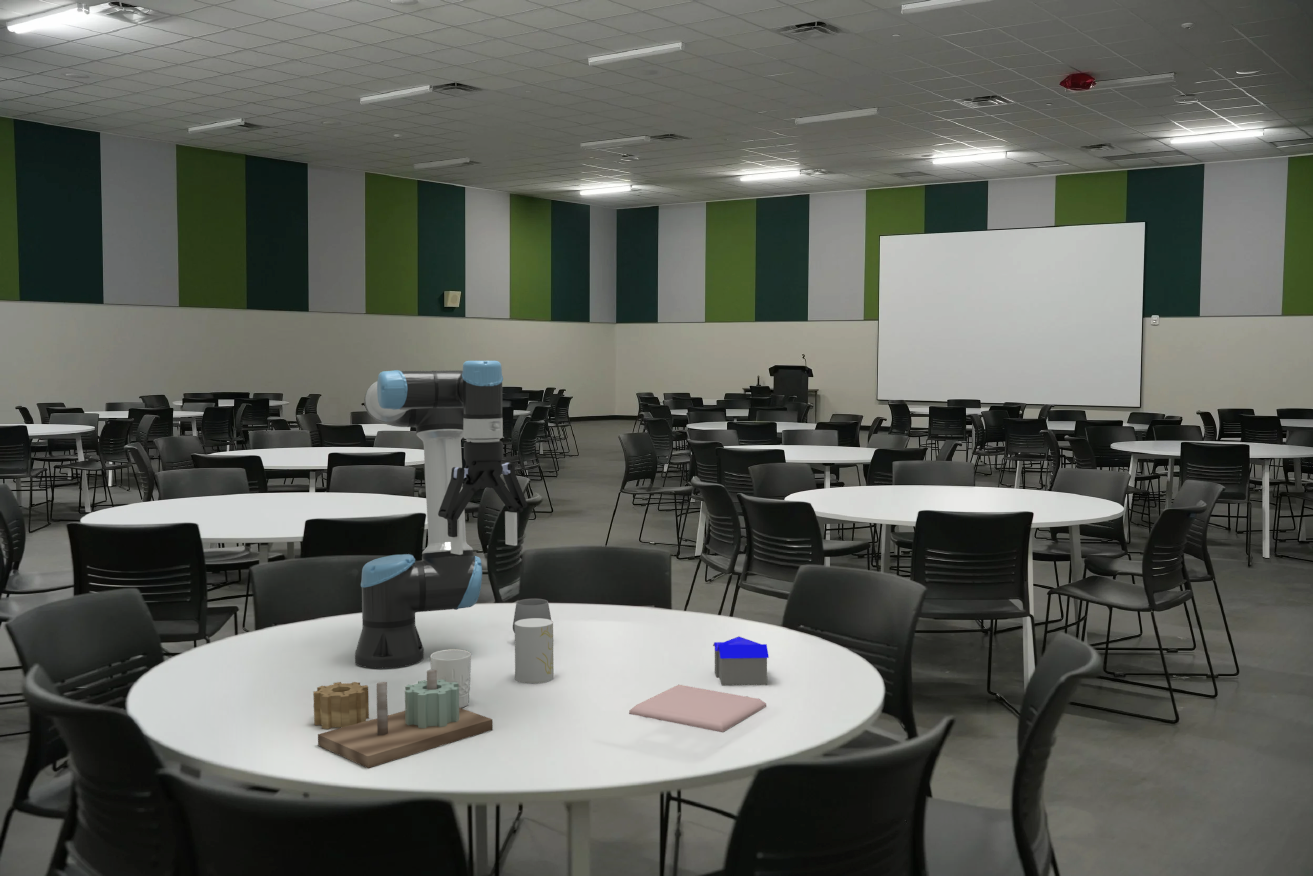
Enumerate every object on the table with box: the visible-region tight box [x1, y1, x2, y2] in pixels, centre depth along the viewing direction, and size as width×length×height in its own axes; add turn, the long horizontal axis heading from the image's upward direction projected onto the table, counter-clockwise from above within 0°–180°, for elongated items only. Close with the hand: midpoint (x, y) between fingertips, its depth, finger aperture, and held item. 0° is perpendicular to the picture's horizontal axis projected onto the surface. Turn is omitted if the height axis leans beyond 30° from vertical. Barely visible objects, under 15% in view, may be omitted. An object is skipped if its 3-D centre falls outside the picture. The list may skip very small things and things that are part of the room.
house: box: [712, 636, 770, 687], centre depth 233 cm, size 10×11×8 cm
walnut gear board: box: [317, 669, 494, 769], centre depth 196 cm, size 16×26×11 cm, turn 137°
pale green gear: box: [404, 679, 459, 728], centre depth 200 cm, size 10×10×6 cm
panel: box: [628, 684, 767, 733], centre depth 206 cm, size 35×33×2 cm
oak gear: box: [312, 681, 370, 730], centre depth 206 cm, size 10×10×6 cm
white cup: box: [429, 648, 472, 709], centre depth 215 cm, size 8×8×10 cm
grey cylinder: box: [514, 618, 555, 685], centre depth 233 cm, size 8×8×12 cm
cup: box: [512, 598, 552, 634], centre depth 263 cm, size 10×9×10 cm
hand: (484, 549), depth 213 cm, fingers open, 13 cm apart
